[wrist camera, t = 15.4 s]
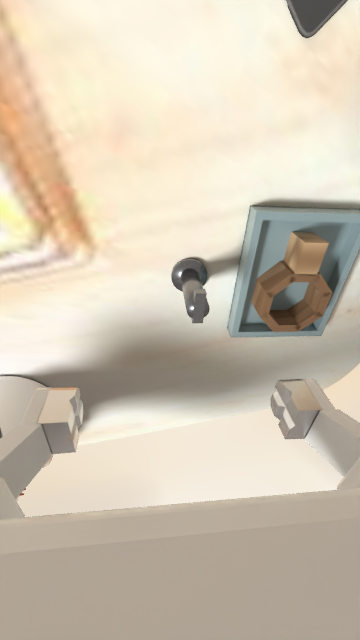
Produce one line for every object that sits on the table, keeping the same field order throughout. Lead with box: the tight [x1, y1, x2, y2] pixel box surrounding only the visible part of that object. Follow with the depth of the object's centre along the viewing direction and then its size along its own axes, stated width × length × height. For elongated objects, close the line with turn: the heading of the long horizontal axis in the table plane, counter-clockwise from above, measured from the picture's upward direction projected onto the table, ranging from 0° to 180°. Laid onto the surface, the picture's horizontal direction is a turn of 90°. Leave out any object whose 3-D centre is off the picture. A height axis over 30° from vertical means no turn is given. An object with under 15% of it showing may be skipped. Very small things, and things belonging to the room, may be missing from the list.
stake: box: [171, 258, 209, 323], centre depth 35 cm, size 5×5×10 cm
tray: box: [227, 206, 360, 337], centre depth 40 cm, size 19×15×2 cm
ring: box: [251, 232, 332, 332], centre depth 39 cm, size 14×9×4 cm
